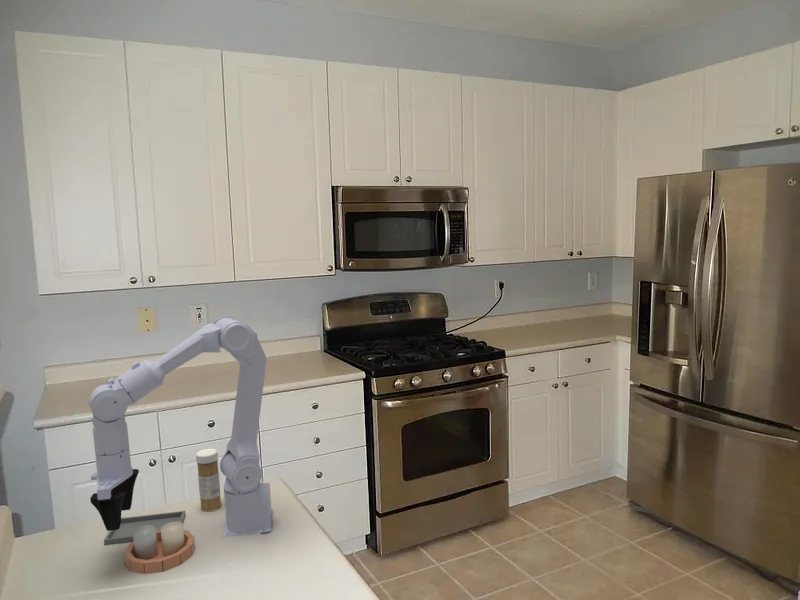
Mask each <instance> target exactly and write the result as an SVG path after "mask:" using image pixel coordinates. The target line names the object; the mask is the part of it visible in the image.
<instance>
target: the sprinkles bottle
mask: <svg viewBox="0 0 800 600" xmlns="http://www.w3.org/2000/svg"><path fill="white" fill-rule="evenodd" d="M218 452H219V451H218V450H217V449H216V448H204V449H201V450H199V451H197V452H196V454H195V460H196V464H197V471H198V472H197V473H198V474H197V478H198V488H199V489H198V490H199V497H200V498H199V500H200V511H201V512H204V513H209V512H215V511H217V510H219V509H221V508H222V505H223V504H222V502H221V501H222V500H221V483H220V481H221V480H220V472H219V465H218V464H219V463H218V461H219V460H218V459H219V454H218Z"/></svg>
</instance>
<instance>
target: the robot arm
mask: <svg viewBox="0 0 800 600" xmlns="http://www.w3.org/2000/svg"><path fill="white" fill-rule="evenodd" d="M221 349H223V350H225V351H226V352H228V353H230V354H231V356H232V357H233V359H235V360H236V361H237V362H238V364H239V372H238V377H237V378H238V380H237V387H236V396H235V406H234V412H233V419H232V420H233V421H232V430H231V437H230V440H229V441H227V444H226V450H225V452H224V454H223V455H222V457H221V459H220V462H219V467H220V472H221V473H222V475H223V476H225V482H224V484H223V496H224V497H223V498H224V509H225V510H224V511H225V524H224V529H223V534H222V536H223V537H224V538H225V537H234V536H241V535H249V534H257V533H260V534H265V533H271V531H272V519H273V517H274V513H273V512H274V511H273V508H272V500H271V485H270V483H269V482H262V477H263V472H262V469H261V465H260V453H259V448H258V443H257V441H258V440H257V439H258V434H259V423H260V416H261V409H262V400H263V393H264V383H265V376H266V375H265V374H266V369H267V356H266V353H265V351H264V349H263V347H262V345H261V343H260V341H259V339H258V333H257V332H256V331H254V329H253V328H251V326H249V325H248V324H247V323H245V322H242V321H239V320H237V319H235V318H234V317H231V316H220V317H219V318H217V319H215V320H214V321H213V323H212V322H210V323H207V324H206V325H204V326H203V327H201V328H200V329H198V330H197V331H195V332H194V333H193V334H192V335H190V336H188V337H187V338H186V339H184V340H183V341H181V342H180V343H178V344H177V345H175V346H174V347H173V348H171V349H170V350H169V351H167V352H166V353H164V354H163V355H162V356H160V357H159V358H157V359H156V360H148V359H144V360H142V361H140V362H139V361H138V360H136V361H134V362H133V363H131V368H130V369H128V370H126V371H125V372H123V373H122V374H120V375H118V377H116V378H114V377H111V378H109V379H108V380H107V382H108V383H107V384H104V383H103V384H101V385H98V386H97V387H96V388H95V389H93V390H92V392H91V393H90V396H89V400H88V401H87V402H88V406H89V408H90V409H91V413H92V425H93V428H92V434H93V435H92V436H93V437H92V438H93V445H94V446H93V447H94V455H95V463H96V464H95V465H96V472H93V473H92V474H91V475H90V480H91V481H96V484H97V489H96V493H92V495H91V496H90V498H89V500H90V503H91V504H92V505H93V506H94V507H95V509H96V510H97V512H98V514H99V515H100V518H101V520H102V522H103V524H104V527H105V530H106V531H107V532H109V531H110V530H118V529H119V528H120V525H121V518H122V512H123V511H129V510H131V508H132V504H133V495H134V489H135V486H136V485H135V484H136V481H137V477H138V476H139V472H140V471H139V469H137V468H133V467H132V461H131V460H132V459H131V452H130V451H131V450H130V442H129V441H130V439H129V429H128V422H127V421H126V415H125V414H126V412H127V411H128V407H129V406H131V405H134V404H135V403H137V402H138V401H140V400H142V399H143V398H144V397H146V396H148V395H149V394H150V393H152V392H153V391H155V390H157V389H158V388H160V387H161V386H162V385H163V384H164V380H165V377H166V375H168V374H169V373H171V372H172V371H174V370H176V369H177V368H179V367H181V366H182V365H184V364H186V363H188V362H190V361H191V360H193V359H195V358H196V357H197V356H200V355H201V354H203V353H216V354H217V353H221Z"/></svg>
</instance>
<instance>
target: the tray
mask: <svg viewBox="0 0 800 600" xmlns="http://www.w3.org/2000/svg"><path fill="white" fill-rule="evenodd" d="M186 515H187V513H186V510H179V511H178V510H177V511H170V512H164V513H152V514H146V515H138V516H137V515H136V516H129V517H128V516H126V517H121V525H120V528H119V529H118V530H110V531H107V535H106V536H105V538H104V539H103V545H104V546H109V545H117V544H126V543H132V542H133V541H134V540H133V531H134V530H135V529H136V528H138V527H141V526H144V525H153V526H155V527H156V531H157V530H161V527H162V526H164V525H165V524H167V523H170V522H181V523H183V524H184V522H185V518H186Z"/></svg>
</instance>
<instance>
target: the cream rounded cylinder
mask: <svg viewBox="0 0 800 600" xmlns="http://www.w3.org/2000/svg"><path fill="white" fill-rule="evenodd" d="M184 530H185V529H184V522H183V523H181V522H170V523H167V524H165V525H164V526H162V527H161V537H162V548H163V555H164V556H165V557H166V556H169V555H172V554H174V553H177V552H178V551H179V550H181V549H182V548H183V547H184V546H185V541H184Z"/></svg>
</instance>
